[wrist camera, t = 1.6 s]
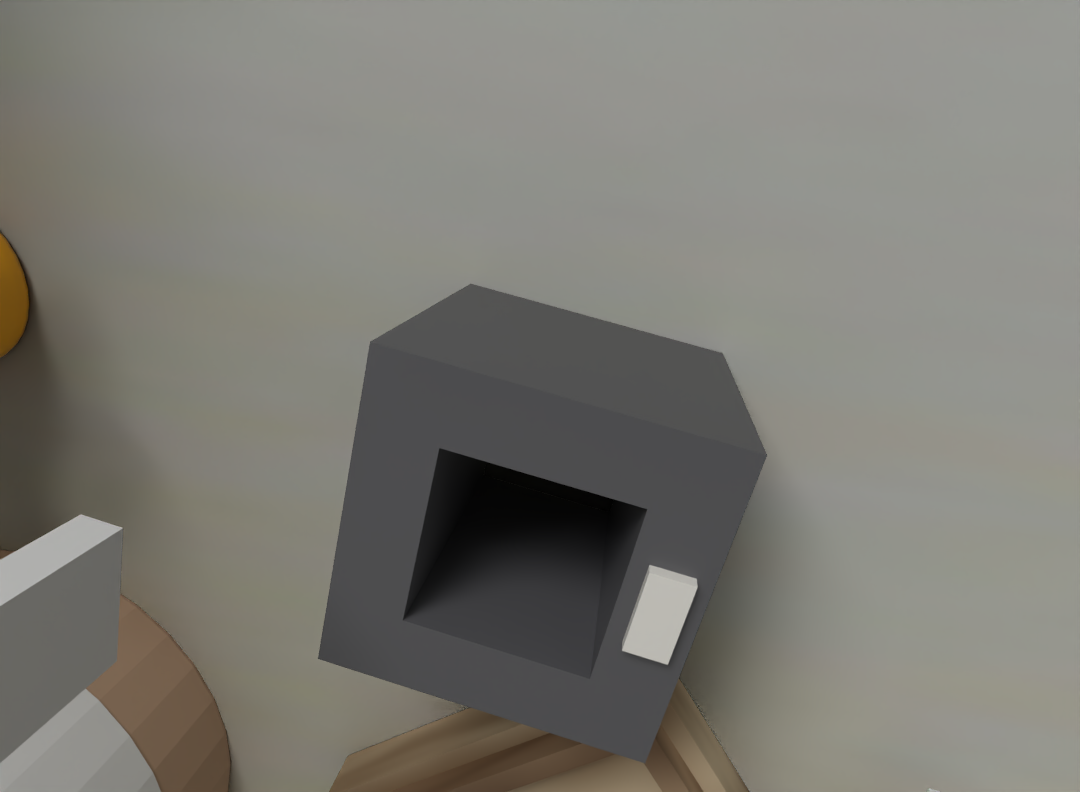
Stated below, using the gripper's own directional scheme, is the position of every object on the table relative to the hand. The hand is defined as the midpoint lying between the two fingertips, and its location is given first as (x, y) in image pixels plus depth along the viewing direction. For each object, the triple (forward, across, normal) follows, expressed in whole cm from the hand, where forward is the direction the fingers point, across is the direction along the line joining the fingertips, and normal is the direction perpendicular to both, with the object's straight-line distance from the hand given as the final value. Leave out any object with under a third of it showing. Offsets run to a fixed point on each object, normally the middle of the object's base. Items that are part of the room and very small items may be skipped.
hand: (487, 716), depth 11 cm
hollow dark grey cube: (+12, 0, 0) cm, 12 cm away
